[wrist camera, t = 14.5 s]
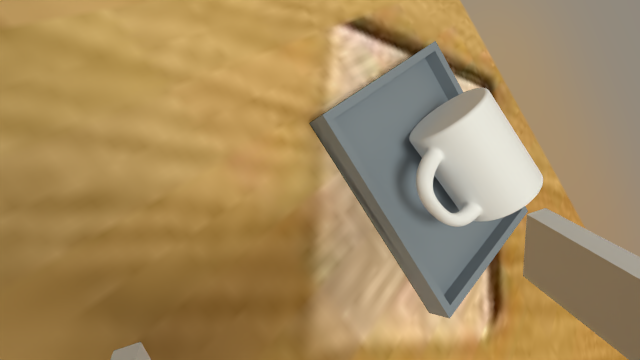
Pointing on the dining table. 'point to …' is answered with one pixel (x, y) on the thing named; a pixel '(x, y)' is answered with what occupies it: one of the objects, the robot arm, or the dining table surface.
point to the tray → (410, 180)
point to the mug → (473, 160)
